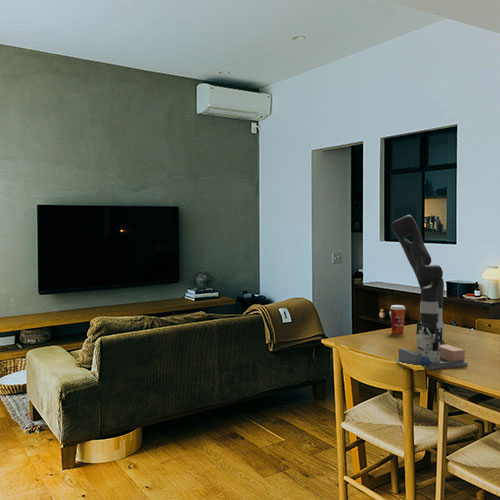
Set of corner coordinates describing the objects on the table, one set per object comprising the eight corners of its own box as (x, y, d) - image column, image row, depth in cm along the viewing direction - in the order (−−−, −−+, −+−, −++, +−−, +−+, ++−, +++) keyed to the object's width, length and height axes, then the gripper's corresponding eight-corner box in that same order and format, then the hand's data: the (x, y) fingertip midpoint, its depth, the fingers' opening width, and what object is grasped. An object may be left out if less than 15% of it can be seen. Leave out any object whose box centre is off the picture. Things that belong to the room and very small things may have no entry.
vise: (445, 357, 233) (445, 343, 233) (467, 365, 220) (468, 350, 219) (396, 362, 225) (396, 348, 225) (416, 371, 212) (416, 355, 211)
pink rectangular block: (447, 354, 231) (447, 344, 231) (464, 361, 221) (464, 350, 221) (435, 356, 229) (436, 345, 229) (452, 362, 219) (452, 351, 219)
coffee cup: (397, 335, 280) (397, 307, 279) (386, 332, 287) (386, 305, 286) (408, 333, 284) (409, 306, 283) (398, 330, 291) (398, 304, 290)
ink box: (421, 363, 219) (421, 335, 218) (416, 360, 224) (416, 333, 223) (440, 362, 220) (440, 335, 220) (435, 359, 225) (435, 332, 224)
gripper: (411, 309, 226) (411, 345, 227) (432, 314, 213) (432, 353, 214) (426, 308, 229) (425, 344, 229) (447, 313, 215) (447, 351, 216)
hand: (428, 348), depth 222 cm, fingers open, 8 cm apart
